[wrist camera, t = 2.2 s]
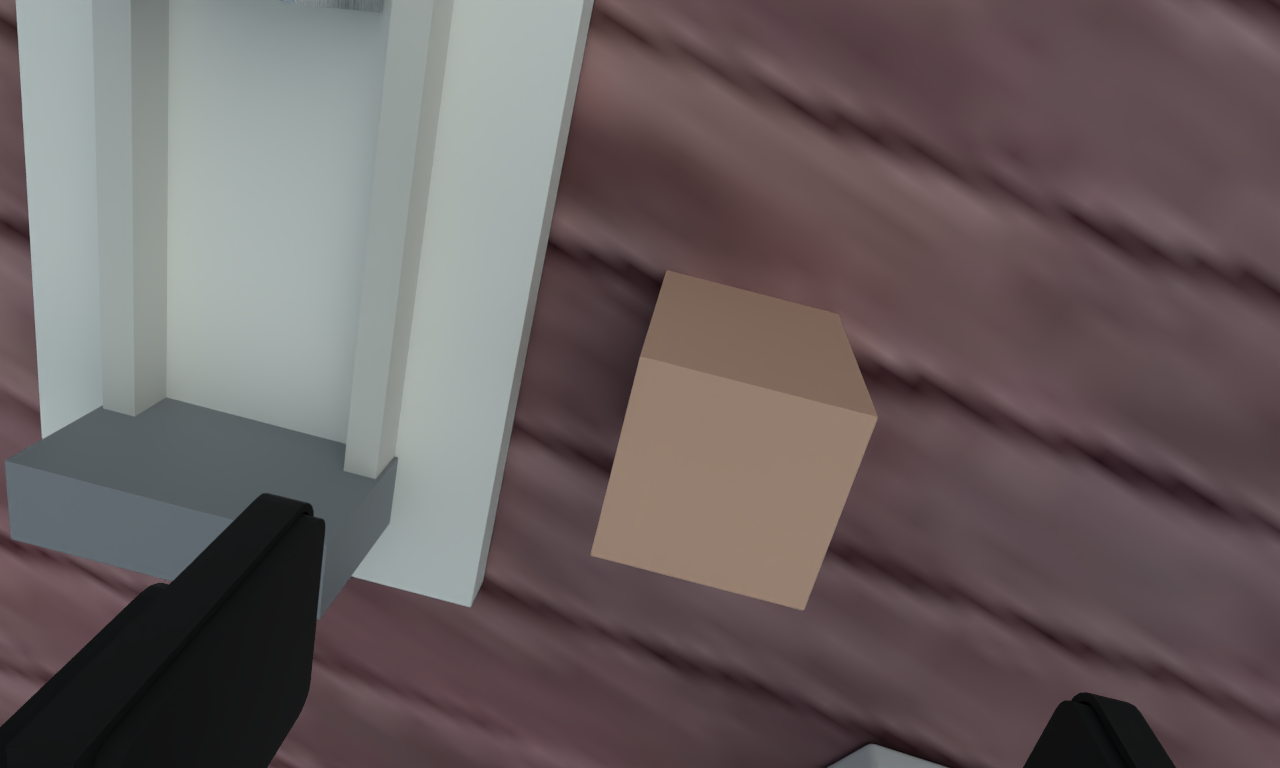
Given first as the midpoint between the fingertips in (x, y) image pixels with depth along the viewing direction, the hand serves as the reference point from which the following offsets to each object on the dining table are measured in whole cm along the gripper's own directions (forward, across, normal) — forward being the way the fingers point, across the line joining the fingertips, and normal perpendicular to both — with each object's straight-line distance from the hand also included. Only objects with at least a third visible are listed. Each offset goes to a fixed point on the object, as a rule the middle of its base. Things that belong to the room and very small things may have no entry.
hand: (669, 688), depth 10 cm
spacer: (+11, -1, 0) cm, 11 cm away
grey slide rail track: (+11, +10, -9) cm, 18 cm away
